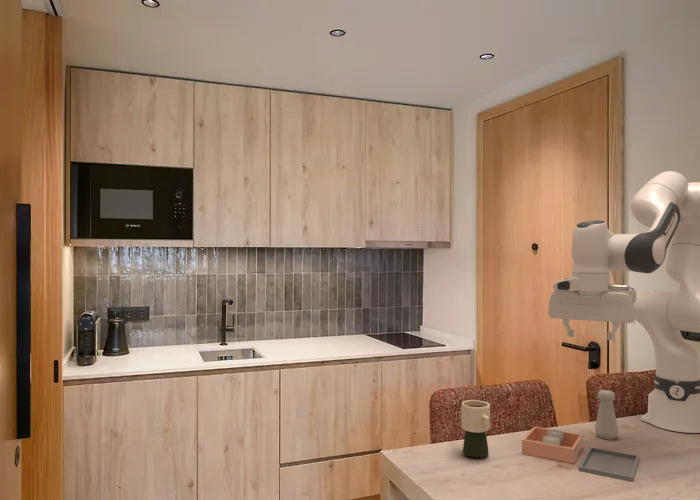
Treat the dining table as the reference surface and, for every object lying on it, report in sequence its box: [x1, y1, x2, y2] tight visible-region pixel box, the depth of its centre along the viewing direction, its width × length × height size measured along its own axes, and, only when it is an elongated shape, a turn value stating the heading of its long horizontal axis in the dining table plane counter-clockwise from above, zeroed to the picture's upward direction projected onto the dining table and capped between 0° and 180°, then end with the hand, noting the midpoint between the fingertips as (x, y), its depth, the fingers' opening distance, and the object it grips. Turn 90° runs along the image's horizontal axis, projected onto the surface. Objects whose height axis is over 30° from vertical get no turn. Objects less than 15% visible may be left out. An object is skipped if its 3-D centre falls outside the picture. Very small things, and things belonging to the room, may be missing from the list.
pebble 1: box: [543, 435, 560, 446], centre depth 136 cm, size 4×4×4 cm
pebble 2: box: [547, 429, 563, 446], centre depth 141 cm, size 4×4×4 cm
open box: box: [521, 426, 584, 465], centre depth 139 cm, size 12×12×4 cm
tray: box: [578, 446, 640, 483], centre depth 130 cm, size 15×11×1 cm
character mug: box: [460, 399, 491, 458], centre depth 137 cm, size 11×7×13 cm, turn 20°
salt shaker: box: [594, 389, 619, 440], centre depth 149 cm, size 6×6×13 cm
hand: (590, 338), depth 139 cm, fingers open, 8 cm apart
